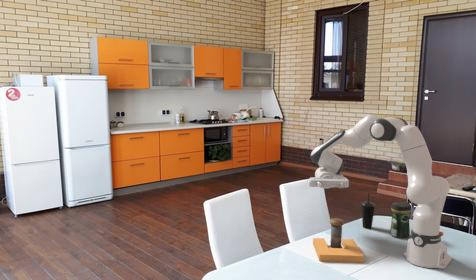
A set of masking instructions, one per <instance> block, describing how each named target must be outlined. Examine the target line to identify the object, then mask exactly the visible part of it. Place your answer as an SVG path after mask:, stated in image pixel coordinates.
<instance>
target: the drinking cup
mask: <svg viewBox="0 0 476 280" xmlns="http://www.w3.org/2000/svg"><path fill="white" fill-rule="evenodd" d="M360 204H361V219H362V220H361V221H362V222H361V223H362V228H363V229H366V230H372V228H373V222H374V213H375V208H376V204H375V203H373V202H371V201H370V192H367V201H364V202H361V203H360Z"/></svg>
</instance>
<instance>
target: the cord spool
mask: <svg viewBox="0 0 476 280" xmlns="http://www.w3.org/2000/svg"><path fill="white" fill-rule="evenodd" d="M344 221H345V220H344V219H342V218H335V217H333V218H330V220H329V224H330V225H331V227H330V229H331V230H330V245H328V248H344V247H343V246H342V239H343V238H342V237H343V235H342V234H343V225H344V224H345V223H344Z"/></svg>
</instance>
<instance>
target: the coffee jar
mask: <svg viewBox="0 0 476 280" xmlns="http://www.w3.org/2000/svg"><path fill="white" fill-rule="evenodd" d="M411 207H412V205H411V203H409V202H407V201H399V202H398V201H397V202H392V203H391V208H390V209H391V215H392V216H391V222H390V228H389V229H390V230H389V234H390V236H392V237H394V238H397V239H400V238H401V239H403V238H408V237H411V230H410V229H411V228H410V215H411V212H412V208H411Z"/></svg>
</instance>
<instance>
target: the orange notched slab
mask: <svg viewBox="0 0 476 280" xmlns="http://www.w3.org/2000/svg"><path fill="white" fill-rule="evenodd" d="M312 244H313V247H314V250H315V253H316V256H317V258H318V261H319V262H339V263H341V262H342V263H343V262H344V263H345V262H346V263H348V262H349V263H350V262H351V263H364V262H365V255H364V254H363V252H362V250H361V249H360V247H359V246H358V244H357V243H356V241H355V239H353V238H342V239H341V246H342V247H343V248H329V245H328V243H327V241H326V239H325V238H321V237H319V238H318V237H312Z"/></svg>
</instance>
